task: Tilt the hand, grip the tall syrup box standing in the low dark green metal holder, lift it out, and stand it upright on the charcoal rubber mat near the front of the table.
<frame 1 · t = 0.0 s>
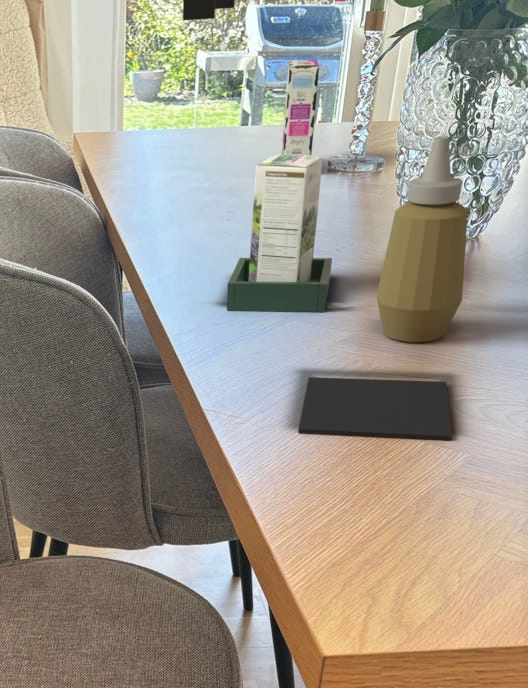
hand: (210, 14, 93), 28 cm above the table, tool pointing down, fingers open, 13 cm apart
syrup box: (279, 299, 113), resting in holder
mat: (374, 408, 86), on the table
holder: (279, 297, 113), on the table
squeeze bottle: (413, 336, 100), on the table
candy bar box: (295, 171, 172), on the table
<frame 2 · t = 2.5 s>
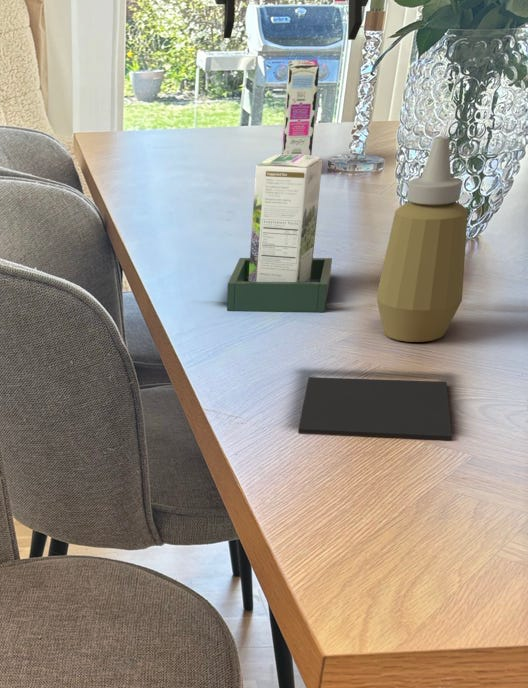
hand: (291, 31, 107), 25 cm above the table, tool tilted 40°, fingers open, 13 cm apart
nothing on the table moved.
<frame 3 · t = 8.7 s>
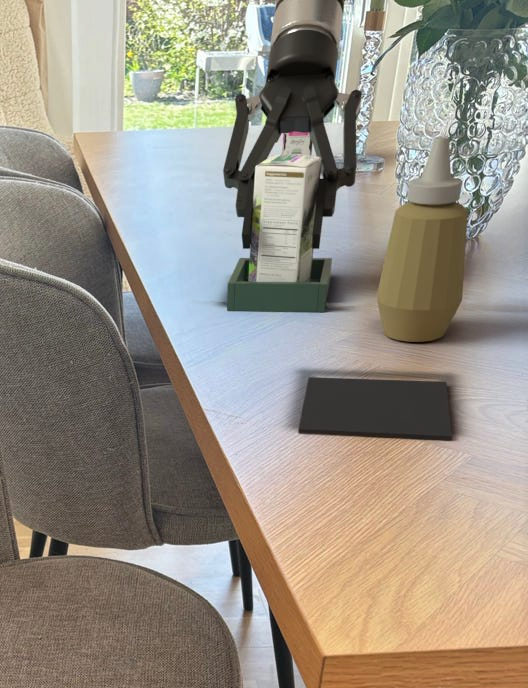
hand: (280, 241, 107), 7 cm above the table, tool tilted 45°, fingers closed on syrup box, 7 cm apart
syrup box: (279, 298, 113), resting in holder, touching gripper
everything else where it was.
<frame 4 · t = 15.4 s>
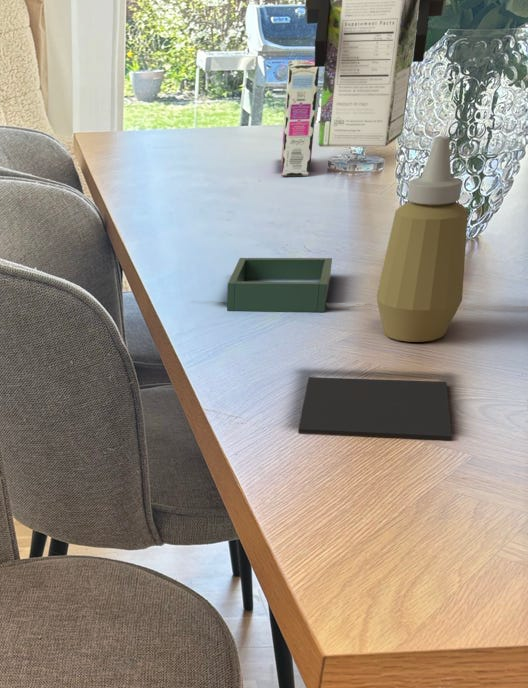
hand: (369, 51, 76), 26 cm above the table, tool tilted 45°, fingers closed on syrup box, 7 cm apart
syrup box: (361, 144, 83), point 19 cm above the table, touching gripper
everything else where it was.
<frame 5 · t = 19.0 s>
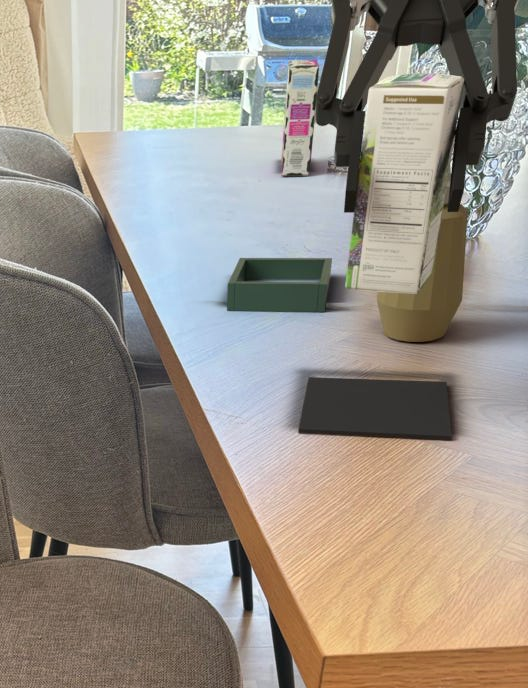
hand: (402, 201, 73), 18 cm above the table, tool tilted 45°, fingers closed on syrup box, 7 cm apart
syrup box: (389, 286, 80), point 10 cm above the table, touching gripper
everything else where it was.
when the fingers open (7 cm above the table, at t = 22.1 s): syrup box stays where it is, resting on mat.
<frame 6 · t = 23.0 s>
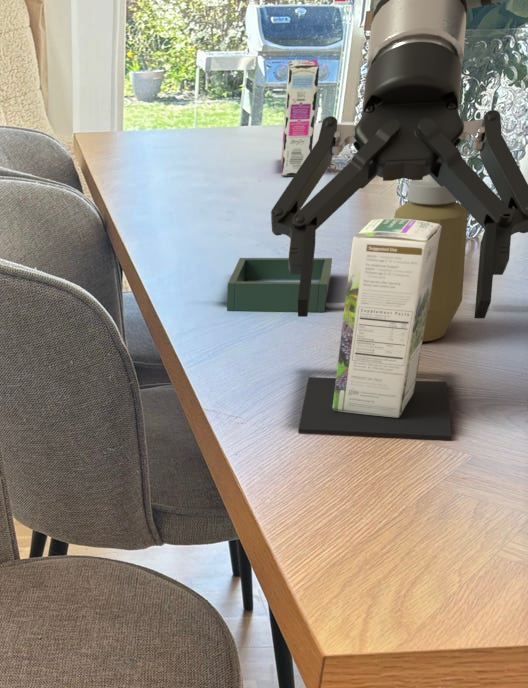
hand: (390, 309, 79), 9 cm above the table, tool tilted 45°, fingers open, 13 cm apart
syrup box: (374, 406, 85), resting on mat
everything else where it was.
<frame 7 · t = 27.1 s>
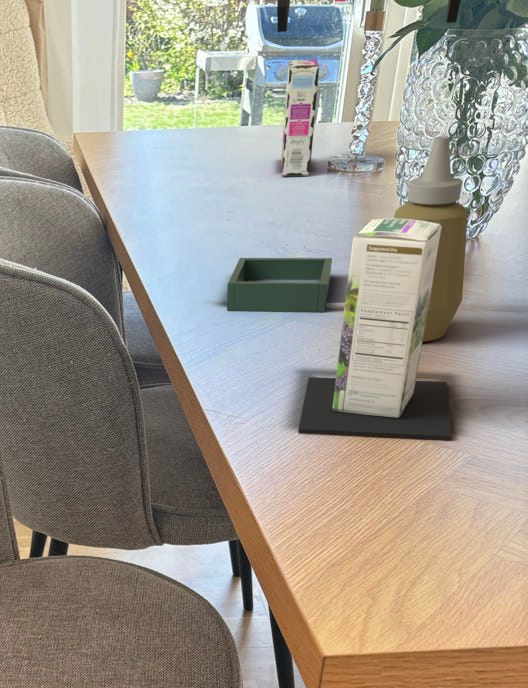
hand: (365, 15, 82), 28 cm above the table, tool tilted 45°, fingers open, 13 cm apart
nothing on the table moved.
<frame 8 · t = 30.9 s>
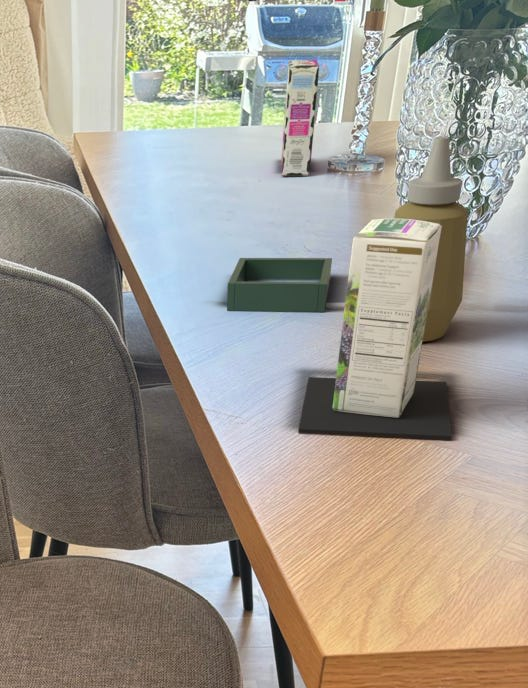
nothing on the table moved.
at the end: syrup box inside the target area on the mat (0.1 cm from its centre), point 0.2 cm above the mat's base; syrup box tilted 0°; the gripper is holding nothing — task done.
